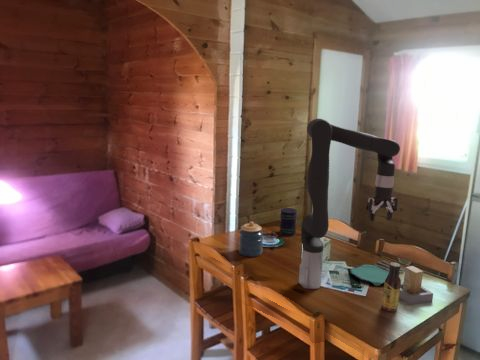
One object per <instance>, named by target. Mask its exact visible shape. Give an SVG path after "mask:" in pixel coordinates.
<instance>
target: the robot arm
mask: <svg viewBox="0 0 480 360" xmlns="http://www.w3.org/2000/svg"><path fill="white" fill-rule="evenodd" d="M306 132H307V134H308V136H309V138H311V156H310V160H309V163H308V168H307V173H306V175H307V176H306V189H307V192H308V196H309V199H310V201H311V205H312V212H309V213H307V214H305V216H303V218H302V220H301V227H300V229H301V230H300V231H301V232H300V238H301V239H300V240H301V246H302V250H301V251H302V253H301V263H300V264H299V271H298V272H299V276H298V284H300V286H301V287H302V288H303V289H307V290H316V289H317V290H318V289H320V288H321V286H322V275H323V274H322V272H323V261H324V260H323V258H324V257H323V256H324V242H322V240H321V239H322V238H324V237H325V236H326V234H327V233H328V230H329V225H330V224H329V223H330V221H329V208H328V207H329V206H328V205H329V203H328V202H329V184H330V149H331V148H330V147H331V142H333V141H334V142H337V143H340V144H343V145H346V146H349V147H352V148H356V149H359V150H364V151H368V152H372V153H376V155H377V156H376V157H377V170H376V171H377V172H376V176H375V183H374V193H373V195H374V198H373V197H371V198H370V197H367V199H366V205H365V211H366V212H369V214H368V216H369V217H368V219H369V221H370V222H374V221H375V214H376V211H377V210H379V209H383V208H384V209H386V210H387V211H386V218H385V219H386V220H387V221H389V222H390V221H391V220H392V218H393V212H396V211H397V210H398V198H397V197H395V196H393V192H394V184H395V178H394V177H395V171H396V164H395V162H394V160H393V157H395V156H397V155H398V154H399V153H400V151H401V147H400V144H399V143H398V141H396V140H394V139H393V140H392V139H389V138H385V137H384V138H383V137H379V136H376V135H373V134H370V133H366V132H362V131H358V130H353V129H349V128H343V127H340V126H336V125H335V124H334V125H333V124H331V123H330V122H329V121H328V120H326V119H324V118H314V119H312V120H311V121H310V122H309V123H308V124H307V127H306ZM390 203H391V204H390Z"/></svg>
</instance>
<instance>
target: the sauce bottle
mask: <svg viewBox="0 0 480 360" xmlns="http://www.w3.org/2000/svg"><path fill="white" fill-rule="evenodd" d="M389 264H390V265H389V267H390V268H389V270H390V271H389V274H388V276H387V278H386V279H385V283H384V284H383V292H382V299H381V307H382V309H383V310H385V311H386V312H391V313H392V312H396V311H397V310H398V307H399V300H400V298H399V294H400V285H401V283H402V280H401V277H400V273H399V272H400V271H399V270H400V268H401V267H402V266H401V264H400V263H398V262H395V261H394V262H392V261H391V262H390V263H389Z"/></svg>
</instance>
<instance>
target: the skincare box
mask: <svg viewBox="0 0 480 360" xmlns="http://www.w3.org/2000/svg"><path fill="white" fill-rule="evenodd" d="M404 270H405V271H404V277H403V282H402V283H403V290H404V291H406V292H407V293H408V294H410V295H411V294H419V293H420V290H421V286H422V283H423V276H424V271H423V270H421V269H420V268H418V267H416V266H413V265H410V266H406V267H405V269H404Z"/></svg>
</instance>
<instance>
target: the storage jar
mask: <svg viewBox="0 0 480 360" xmlns="http://www.w3.org/2000/svg"><path fill="white" fill-rule="evenodd" d="M297 214H298V211H297V209H296V208H292V207H291V208H290V207H286V208H281V209H280V224H279V234H280V235H281V236H284V237H293V236H296V231H297V225H296V224H297Z"/></svg>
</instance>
